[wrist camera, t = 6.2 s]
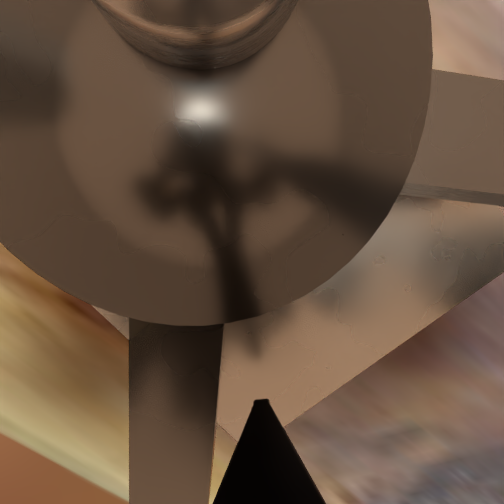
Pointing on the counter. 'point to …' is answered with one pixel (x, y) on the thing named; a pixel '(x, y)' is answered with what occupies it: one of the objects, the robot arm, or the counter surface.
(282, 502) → the robot arm
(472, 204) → the stand
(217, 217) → the capstan
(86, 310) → the counter surface
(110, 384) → the counter surface
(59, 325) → the counter surface
